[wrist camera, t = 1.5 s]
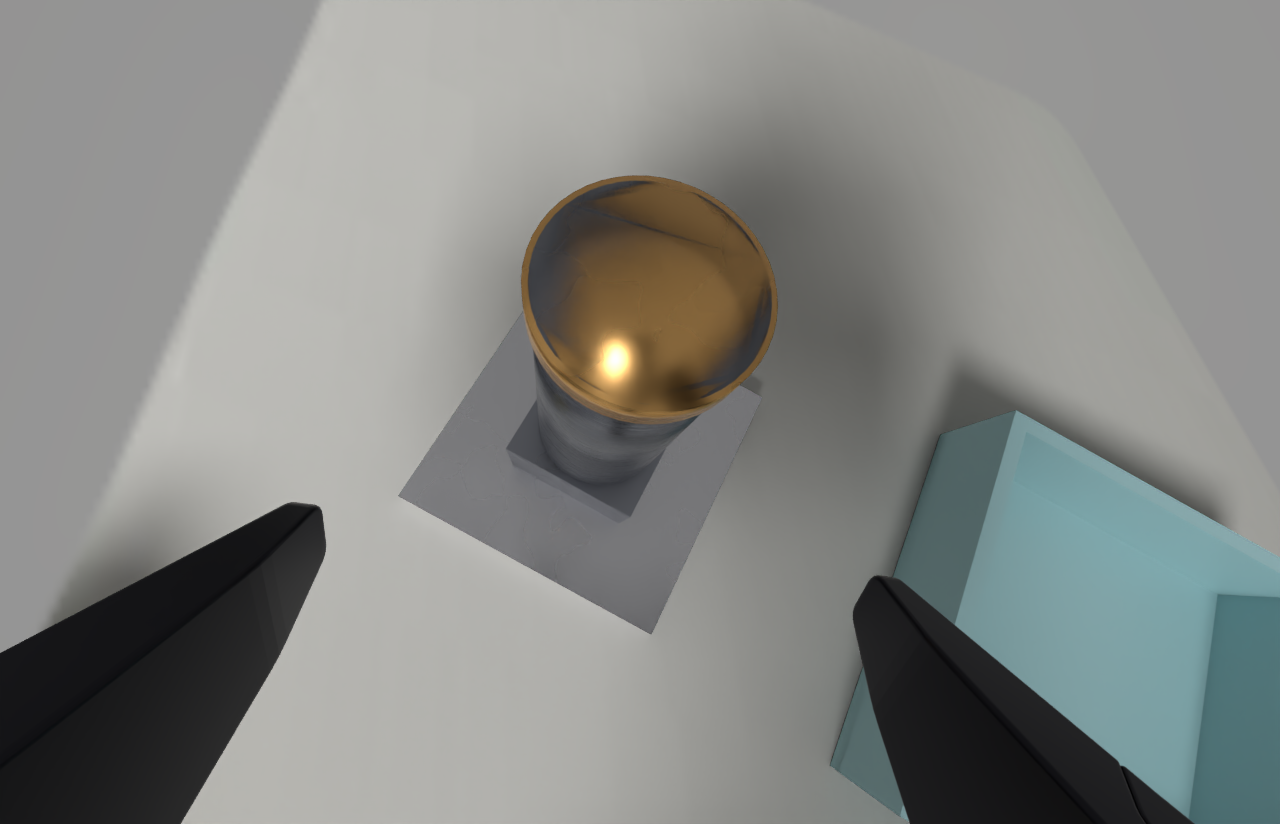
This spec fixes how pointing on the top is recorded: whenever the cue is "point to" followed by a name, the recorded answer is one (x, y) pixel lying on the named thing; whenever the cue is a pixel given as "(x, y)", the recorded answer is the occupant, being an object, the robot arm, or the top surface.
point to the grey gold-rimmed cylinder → (634, 331)
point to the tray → (1099, 616)
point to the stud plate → (556, 523)
